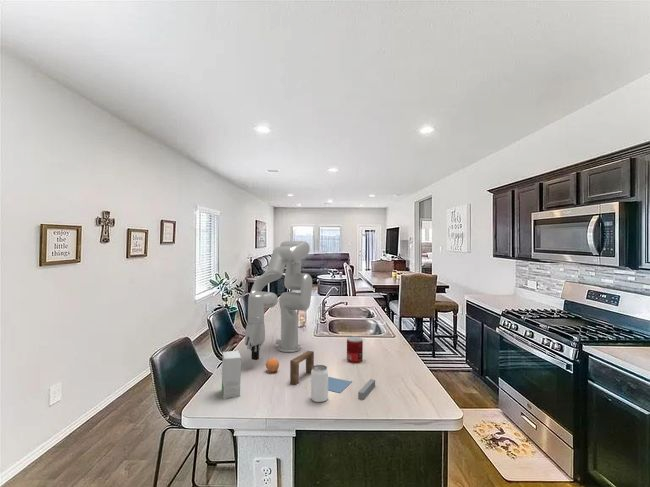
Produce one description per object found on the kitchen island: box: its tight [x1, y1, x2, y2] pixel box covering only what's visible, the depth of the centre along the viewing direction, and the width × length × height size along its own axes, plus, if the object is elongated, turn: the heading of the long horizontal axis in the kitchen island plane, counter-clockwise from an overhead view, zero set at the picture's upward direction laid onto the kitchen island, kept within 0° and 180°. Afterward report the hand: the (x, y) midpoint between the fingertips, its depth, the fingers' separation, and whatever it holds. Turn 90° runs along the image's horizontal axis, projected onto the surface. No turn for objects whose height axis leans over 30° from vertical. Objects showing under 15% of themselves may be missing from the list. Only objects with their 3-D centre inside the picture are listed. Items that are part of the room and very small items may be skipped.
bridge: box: [289, 350, 315, 386], centre depth 150 cm, size 3×15×10 cm, turn 153°
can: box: [310, 364, 329, 403], centre depth 130 cm, size 6×6×12 cm
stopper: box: [357, 378, 376, 400], centre depth 136 cm, size 2×14×2 cm, turn 153°
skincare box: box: [221, 350, 242, 400], centre depth 135 cm, size 8×7×16 cm
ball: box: [265, 357, 280, 373], centre depth 157 cm, size 6×6×6 cm
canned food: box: [346, 336, 364, 364], centre depth 172 cm, size 8×8×11 cm
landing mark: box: [328, 376, 353, 394], centre depth 143 cm, size 12×12×1 cm
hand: (255, 359), depth 161 cm, fingers closed
